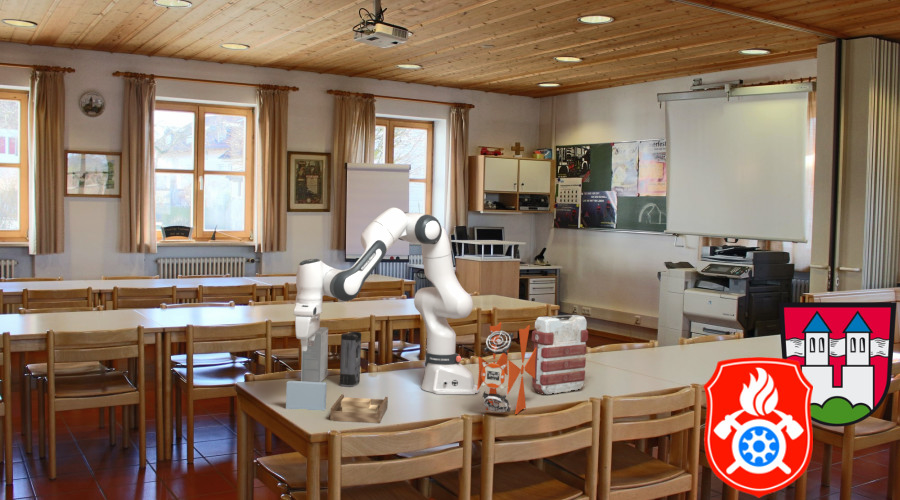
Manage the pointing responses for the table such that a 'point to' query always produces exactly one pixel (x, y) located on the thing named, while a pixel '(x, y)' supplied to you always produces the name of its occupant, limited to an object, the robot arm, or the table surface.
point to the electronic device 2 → (504, 370)
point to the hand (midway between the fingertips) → (307, 348)
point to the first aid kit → (559, 353)
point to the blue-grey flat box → (306, 395)
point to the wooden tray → (359, 416)
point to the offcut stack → (358, 405)
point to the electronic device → (350, 359)
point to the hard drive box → (316, 358)
